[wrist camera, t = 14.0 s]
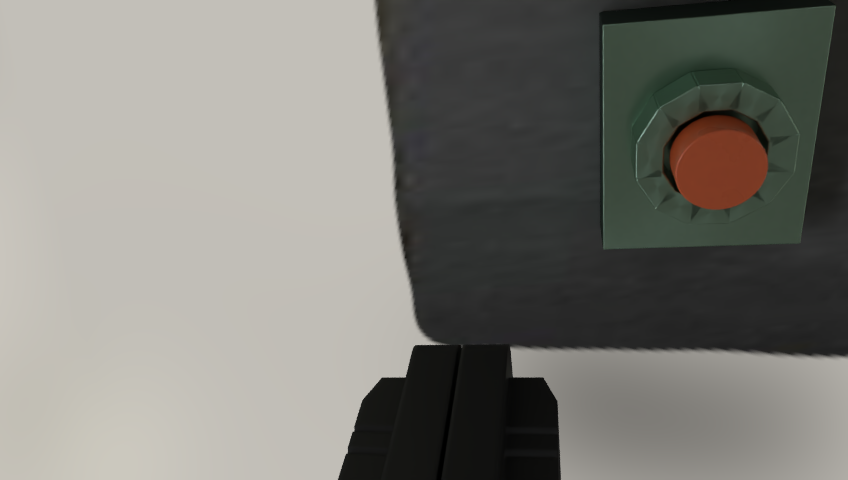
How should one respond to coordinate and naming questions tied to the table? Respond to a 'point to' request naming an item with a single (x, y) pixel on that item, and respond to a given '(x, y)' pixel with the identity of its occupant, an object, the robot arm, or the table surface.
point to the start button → (718, 162)
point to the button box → (708, 114)
